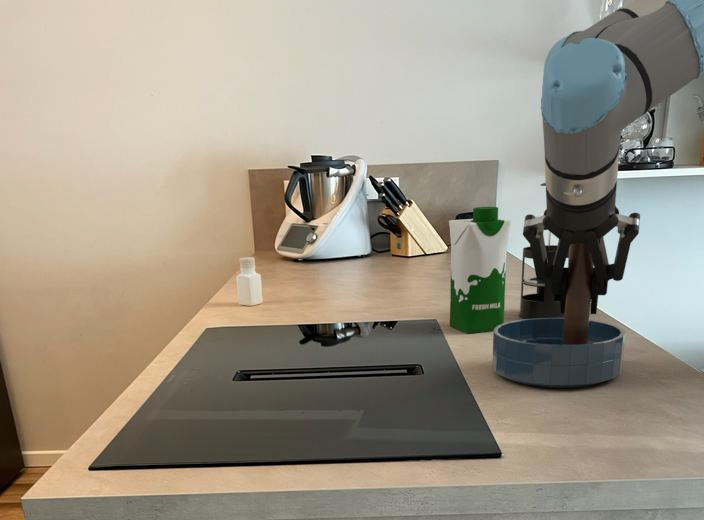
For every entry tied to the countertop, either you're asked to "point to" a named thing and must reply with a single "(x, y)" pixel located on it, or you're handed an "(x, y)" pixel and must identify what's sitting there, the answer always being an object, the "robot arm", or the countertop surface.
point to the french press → (540, 290)
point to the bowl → (556, 353)
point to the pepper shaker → (249, 283)
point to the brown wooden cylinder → (578, 295)
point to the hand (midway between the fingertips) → (579, 305)
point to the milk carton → (478, 271)
